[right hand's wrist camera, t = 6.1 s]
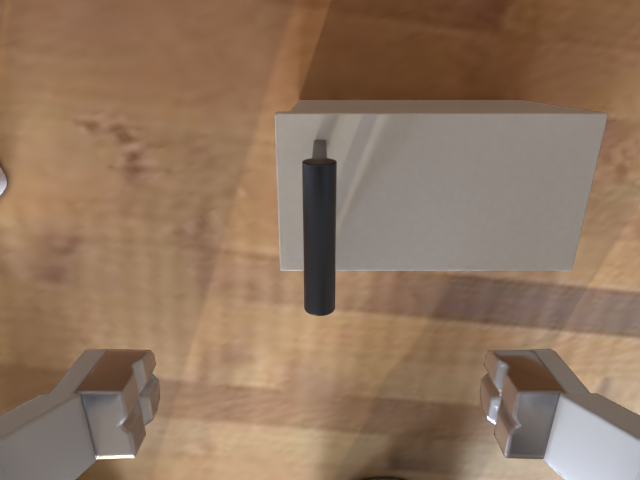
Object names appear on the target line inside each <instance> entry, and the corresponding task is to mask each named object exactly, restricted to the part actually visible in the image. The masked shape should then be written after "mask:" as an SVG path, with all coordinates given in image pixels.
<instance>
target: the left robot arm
mask: <svg viewBox="0 0 640 480" xmlns="http://www.w3.org/2000/svg"><path fill="white" fill-rule="evenodd" d="M367 480H400V479H393V478H374V479H367Z"/></svg>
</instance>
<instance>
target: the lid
mask: <svg viewBox="0 0 640 480" xmlns="http://www.w3.org/2000/svg"><path fill="white" fill-rule="evenodd" d="M607 116H608V113H603V112H597V111H518V112H276V113H275V140H276V167H277V193H278V220H279V247H280V270H303V271H304V308H305V310H306V312H307V313H309V314H311V315H316V316H324V315H328V314H330V313H332V312H333V311H334V309H335V271H571V270H572V268H573V263H574V259H575V255H576V250H577V246H578V242H579V237H580V233H581V229H582V224H583V220H584V216H585V211H586V207H587V203H588V198H589V194H590V190H591V185H592V181H593V177H594V172H595V168H596V164H597V159H598V155H599V151H600V146H601V142H602V138H603V133H604V129H605V125H606V120H607Z"/></svg>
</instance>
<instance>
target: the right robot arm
mask: <svg viewBox="0 0 640 480" xmlns="http://www.w3.org/2000/svg"><path fill="white" fill-rule="evenodd" d="M6 185H7V179H6V176H5V174H4V172H3V170H2V168H1V167H0V195H1V194H2V192H3V191H4V190H5V188H6ZM155 366H156V361H155V357H154V353H153V352H152V351H151V350H124V349H110V350H109V349H89V350H87V351H85V352H84V353H83V354H82V355H81V356H80V357H79V359H78V360H77V361H76V362H75V363H74V365H73V366H72V367H71V368H70V369H69V371H68V372H67V373H66V374H65V375H64V376H63V378H62V379H61V380H60V381H59V382H58V384H57V385H56V386H55V387H54V388H53V390H52V391H51V392H50V393H43V394H41V395H39V396H37V397H35V398H33V399H31V400H29V401H27V402H25V403H23V404H22V405H20V406H18V407H16V408H14V409H12V410H10V411H8V412H6V413H4V414H2V415H0V480H75V479H76V478H77V477H79V476H80V475H81V474H82V473H83V472H84V471H86V470H87V469H88V468H89V467H90V466H91V465H93V464H94V463H95V462H96V459H115V458H135V456H136V454H137V452H138V450H139V448H140V446H141V444H142V442H143V440H144V438H145V436H146V432H145V425H147V424H148V423H149V422H151V421H152V420H153V419H154V416H155V414H156V412H157V409H158V405H159V400H160V385H159V380H158V379H157V378H156V377H155V376H154V375H153V374H152V371H153V370H154V368H155ZM484 366H485V368H486V370H487V371H488V374H487V375H486V376H485V377H484V378H483V379H482V380H481V386H480V399H481V405H482V409H483V412H484V414H485V417H486V419H487V420H488V421H489V422H491V423H492V424H493V425H495V432H494V436H495V438H496V440H497V442H498V444H499V446H500V448H501V450H502V452H503V454H504V456H505V458H524V459H544V460H543V461H544V462H545V463H546V464H548V465H549V466H550V467H551V468H552V469H553V470H555V471H556V472H557V473H558V474H559V475H560V476H562V477H563V478H564V479H565V480H640V416H639V415H638V414H636V413H634V412H632V411H630V410H628V409H626V408H624V407H622V406H620V405H618V404H617V403H615V402H613V401H611V400H609V399H607V398H605V397H603V396H601V395H599V394H597V393H590V392H589V391H588V390H587V388H586V387H585V386H584V385H583V384H582V382H581V381H580V380H579V379H578V378H577V377H576V375H575V374H574V373H573V372H572V371H571V369H570V368H569V367H568V366H567V365H566V363H565V362H564V361H563V360H562V359H561V358H560V356H559V355H558V354H557V353H556V352H555V351H554V350H552V349H531V350H492V351H488V352H487V354H486V356H485V361H484Z"/></svg>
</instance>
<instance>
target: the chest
mask: <svg viewBox="0 0 640 480" xmlns="http://www.w3.org/2000/svg"><path fill="white" fill-rule="evenodd" d="M518 111H591V110H584V109H578V108H571V107H565V106H559V105H552V104H546V103H539V102H533V101H527V100H298V102H297V103H296V104H295V106H294V107H293V108H292V110H291V111H290V112H518Z"/></svg>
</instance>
